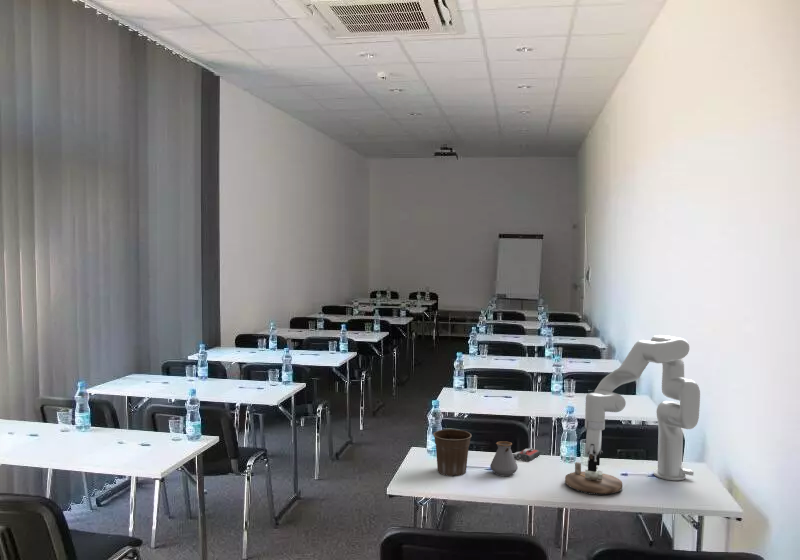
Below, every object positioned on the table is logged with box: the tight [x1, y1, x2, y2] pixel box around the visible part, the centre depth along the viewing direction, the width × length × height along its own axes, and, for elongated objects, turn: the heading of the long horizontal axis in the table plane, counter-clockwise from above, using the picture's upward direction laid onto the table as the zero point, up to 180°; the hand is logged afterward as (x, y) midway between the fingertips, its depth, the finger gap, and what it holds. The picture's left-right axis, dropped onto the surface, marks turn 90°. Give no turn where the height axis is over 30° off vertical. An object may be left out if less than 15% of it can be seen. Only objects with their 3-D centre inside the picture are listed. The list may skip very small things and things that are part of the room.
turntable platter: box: [564, 461, 623, 495], centre depth 262 cm, size 22×22×6 cm
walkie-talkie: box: [512, 447, 541, 462], centre depth 298 cm, size 9×4×20 cm
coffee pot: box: [490, 440, 518, 477], centre depth 272 cm, size 21×12×15 cm, turn 176°
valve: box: [584, 450, 604, 480], centre depth 262 cm, size 7×7×12 cm
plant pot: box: [433, 428, 472, 477], centre depth 277 cm, size 16×16×16 cm
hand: (593, 467), depth 262 cm, fingers open, 8 cm apart
